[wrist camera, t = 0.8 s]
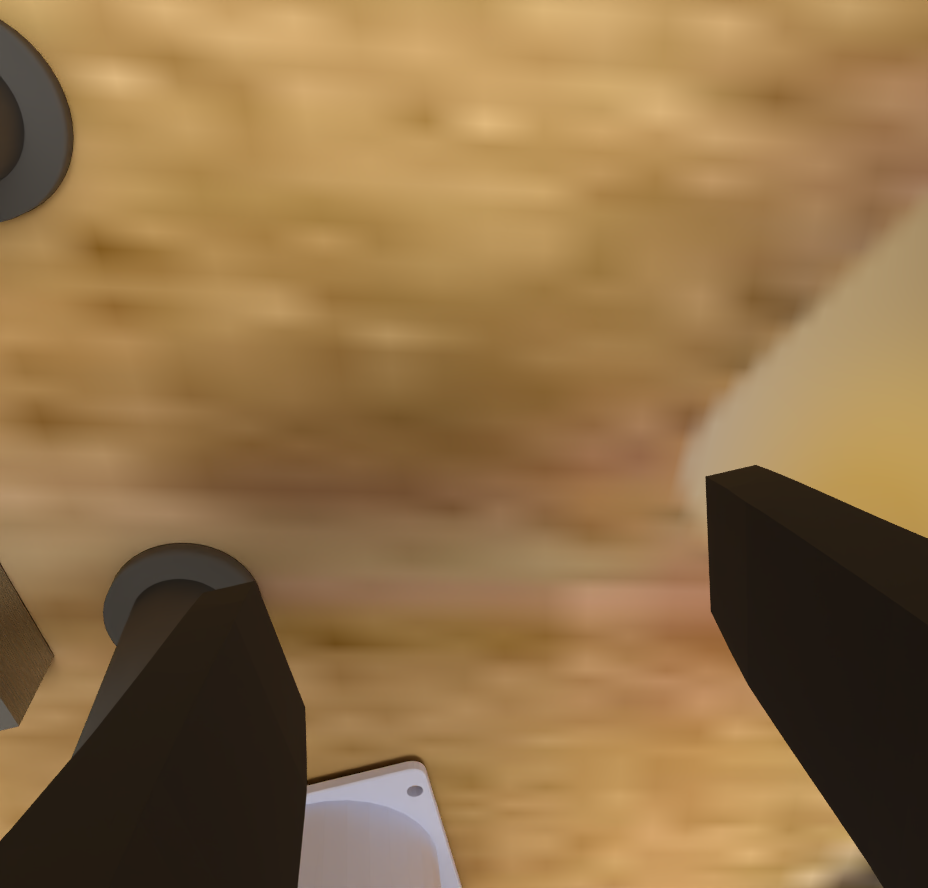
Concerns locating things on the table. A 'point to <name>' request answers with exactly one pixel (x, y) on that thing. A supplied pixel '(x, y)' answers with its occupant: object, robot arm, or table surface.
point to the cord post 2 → (154, 611)
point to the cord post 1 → (30, 127)
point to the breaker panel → (18, 656)
